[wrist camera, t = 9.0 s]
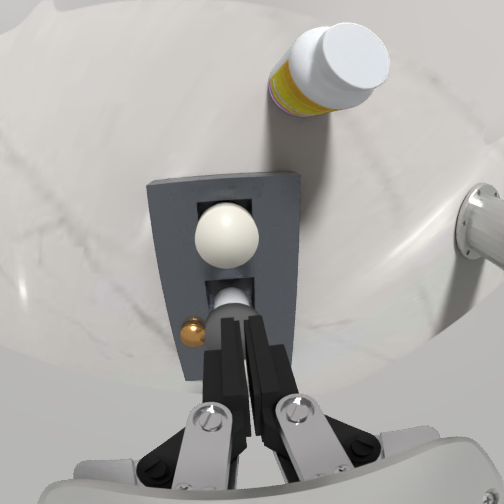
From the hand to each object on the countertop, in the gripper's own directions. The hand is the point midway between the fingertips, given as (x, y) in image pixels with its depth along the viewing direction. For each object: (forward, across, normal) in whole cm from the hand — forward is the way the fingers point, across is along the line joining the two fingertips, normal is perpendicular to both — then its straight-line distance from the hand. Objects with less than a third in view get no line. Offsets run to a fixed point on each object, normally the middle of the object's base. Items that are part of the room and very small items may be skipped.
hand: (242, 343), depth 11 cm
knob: (+18, 0, 0) cm, 18 cm away
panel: (+19, 0, +8) cm, 21 cm away
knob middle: (+15, 0, +8) cm, 17 cm away
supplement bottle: (+19, -8, -14) cm, 25 cm away
